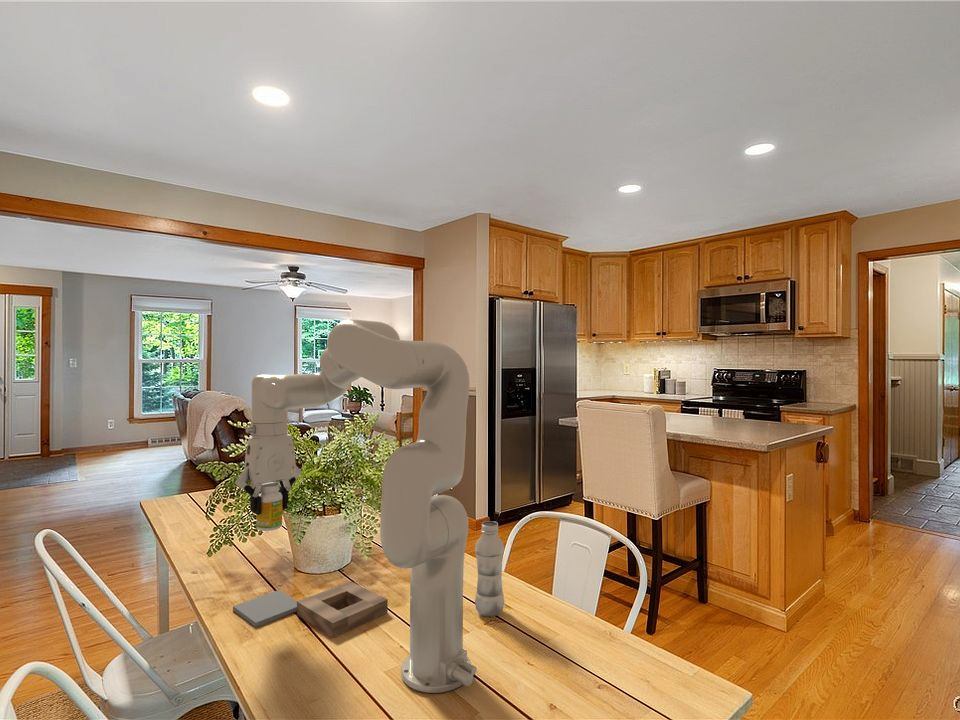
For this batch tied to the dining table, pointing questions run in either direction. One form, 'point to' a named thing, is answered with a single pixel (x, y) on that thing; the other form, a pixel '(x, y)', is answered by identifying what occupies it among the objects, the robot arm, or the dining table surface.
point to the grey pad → (266, 608)
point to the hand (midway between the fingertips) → (269, 509)
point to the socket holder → (336, 622)
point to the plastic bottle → (489, 571)
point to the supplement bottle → (270, 507)
